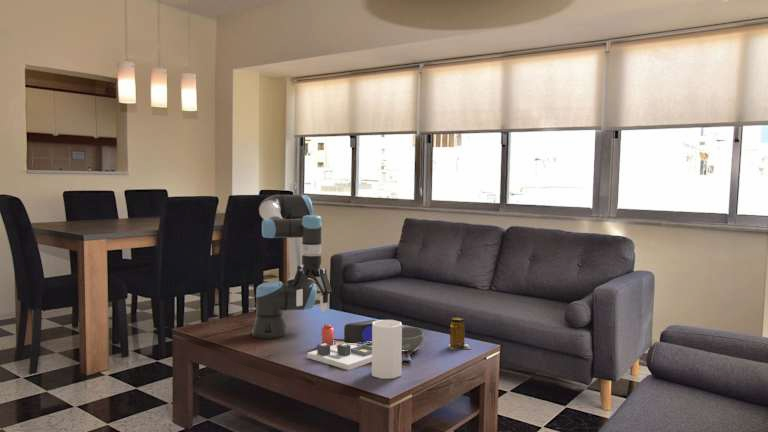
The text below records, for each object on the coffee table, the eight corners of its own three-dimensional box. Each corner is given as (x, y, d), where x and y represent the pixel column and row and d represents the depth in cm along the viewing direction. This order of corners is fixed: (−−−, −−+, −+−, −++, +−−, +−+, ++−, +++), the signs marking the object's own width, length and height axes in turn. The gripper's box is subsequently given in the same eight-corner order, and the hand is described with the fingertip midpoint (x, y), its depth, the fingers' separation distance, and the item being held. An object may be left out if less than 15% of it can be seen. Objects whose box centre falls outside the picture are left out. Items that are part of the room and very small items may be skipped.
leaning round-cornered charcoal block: (348, 348, 234) (349, 326, 234) (343, 345, 238) (343, 323, 238) (381, 342, 243) (381, 321, 243) (375, 340, 247) (376, 318, 247)
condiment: (448, 344, 242) (448, 316, 242) (468, 344, 242) (468, 317, 242) (450, 349, 235) (450, 320, 234) (470, 349, 235) (471, 321, 234)
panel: (307, 357, 221) (307, 349, 221) (343, 346, 236) (343, 338, 236) (348, 370, 207) (348, 360, 207) (383, 357, 222) (383, 349, 222)
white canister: (366, 376, 200) (366, 325, 199) (377, 367, 210) (378, 318, 209) (395, 381, 196) (396, 328, 195) (406, 371, 206) (406, 321, 205)
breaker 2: (337, 354, 219) (337, 344, 219) (342, 352, 222) (342, 342, 222) (344, 356, 217) (345, 346, 217) (350, 354, 219) (350, 344, 219)
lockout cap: (319, 346, 236) (319, 325, 236) (327, 344, 240) (327, 322, 239) (327, 349, 233) (327, 327, 232) (336, 346, 237) (336, 324, 236)
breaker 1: (317, 353, 219) (317, 344, 219) (322, 352, 222) (323, 342, 222) (324, 355, 217) (324, 346, 217) (330, 354, 219) (330, 344, 219)
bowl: (373, 353, 228) (374, 334, 227) (388, 342, 244) (388, 324, 244) (416, 358, 222) (416, 338, 221) (428, 346, 238) (429, 328, 238)
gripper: (283, 252, 227) (282, 305, 229) (327, 258, 212) (327, 314, 213) (297, 251, 233) (296, 302, 235) (341, 256, 218) (340, 311, 219)
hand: (311, 308), depth 224 cm, fingers open, 13 cm apart
